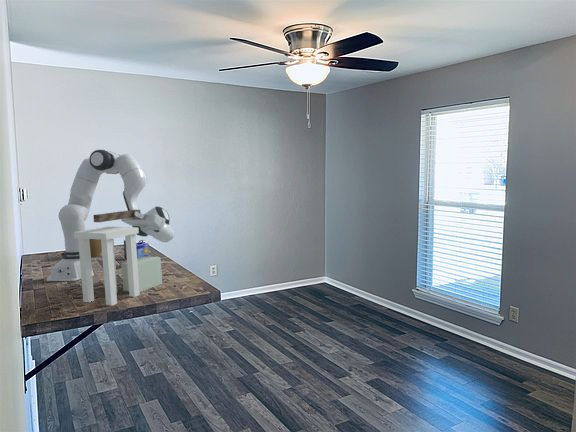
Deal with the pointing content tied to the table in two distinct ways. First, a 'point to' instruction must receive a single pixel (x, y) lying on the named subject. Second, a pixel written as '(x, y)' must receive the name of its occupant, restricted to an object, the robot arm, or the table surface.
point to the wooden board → (114, 216)
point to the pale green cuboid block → (144, 273)
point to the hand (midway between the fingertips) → (130, 212)
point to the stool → (108, 261)
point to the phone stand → (125, 250)
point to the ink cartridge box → (142, 249)
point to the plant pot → (95, 247)
